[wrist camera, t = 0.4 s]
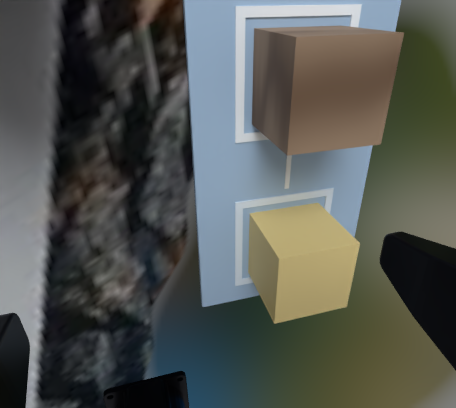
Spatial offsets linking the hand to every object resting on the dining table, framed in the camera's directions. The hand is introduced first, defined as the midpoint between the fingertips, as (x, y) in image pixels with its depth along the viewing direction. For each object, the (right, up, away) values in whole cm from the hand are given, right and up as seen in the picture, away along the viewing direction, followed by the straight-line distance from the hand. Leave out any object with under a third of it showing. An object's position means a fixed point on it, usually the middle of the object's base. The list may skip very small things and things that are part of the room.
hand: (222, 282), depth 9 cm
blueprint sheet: (+4, +5, +14) cm, 16 cm away
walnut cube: (+4, +9, +12) cm, 15 cm away
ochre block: (+4, -1, +17) cm, 18 cm away
